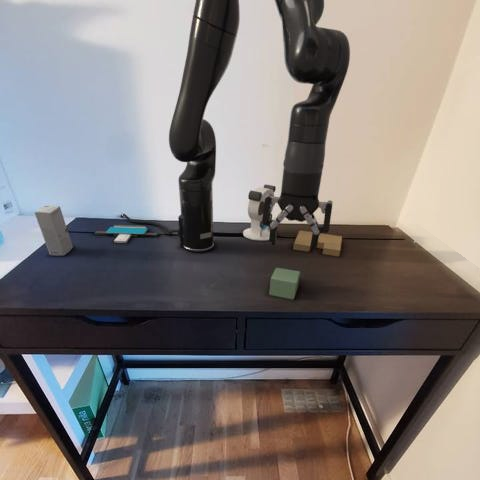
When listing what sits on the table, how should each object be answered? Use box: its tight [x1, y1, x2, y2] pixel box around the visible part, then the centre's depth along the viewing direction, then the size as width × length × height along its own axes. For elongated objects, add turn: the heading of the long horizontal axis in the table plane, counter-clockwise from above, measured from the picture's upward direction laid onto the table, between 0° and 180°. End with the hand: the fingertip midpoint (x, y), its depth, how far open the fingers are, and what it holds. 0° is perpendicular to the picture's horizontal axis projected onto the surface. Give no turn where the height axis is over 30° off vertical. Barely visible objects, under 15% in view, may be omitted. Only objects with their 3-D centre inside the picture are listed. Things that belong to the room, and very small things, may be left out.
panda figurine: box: [242, 184, 277, 242], centre depth 102 cm, size 12×11×15 cm
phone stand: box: [94, 224, 159, 244], centre depth 100 cm, size 20×12×2 cm, turn 90°
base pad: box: [292, 230, 343, 257], centre depth 100 cm, size 14×12×2 cm
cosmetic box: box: [34, 205, 74, 257], centre depth 86 cm, size 6×4×12 cm
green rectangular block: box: [268, 267, 301, 300], centre depth 77 cm, size 6×10×4 cm, turn 163°
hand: (292, 246), depth 70 cm, fingers open, 8 cm apart
